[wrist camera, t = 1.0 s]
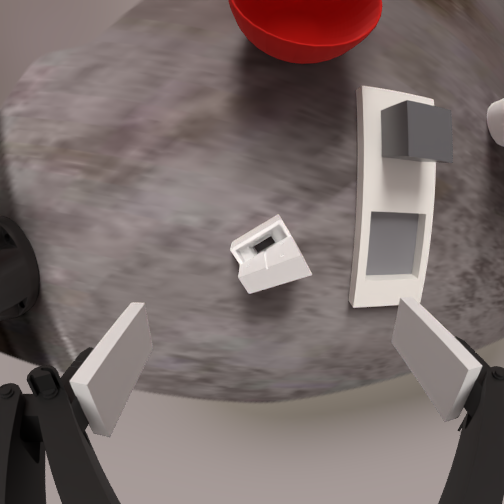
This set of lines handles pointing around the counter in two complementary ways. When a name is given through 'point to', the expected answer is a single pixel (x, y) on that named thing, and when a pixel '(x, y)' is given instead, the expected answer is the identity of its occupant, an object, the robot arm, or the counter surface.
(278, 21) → the ceramic cup
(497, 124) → the foam cup
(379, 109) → the white slotted base plate
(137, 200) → the counter surface
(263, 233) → the white angled block
